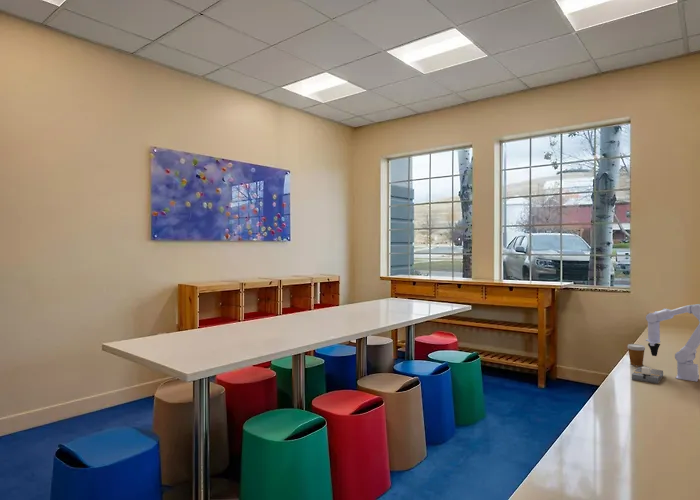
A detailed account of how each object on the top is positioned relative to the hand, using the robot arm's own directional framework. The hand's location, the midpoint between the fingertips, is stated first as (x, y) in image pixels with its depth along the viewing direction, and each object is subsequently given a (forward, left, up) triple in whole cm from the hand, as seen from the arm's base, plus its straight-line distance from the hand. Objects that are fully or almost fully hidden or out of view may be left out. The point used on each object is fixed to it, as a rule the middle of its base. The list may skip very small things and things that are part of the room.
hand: (654, 355), depth 255 cm
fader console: (+1, +16, -9) cm, 19 cm away
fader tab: (+1, +21, -8) cm, 22 cm away
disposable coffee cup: (+11, -11, -10) cm, 18 cm away
